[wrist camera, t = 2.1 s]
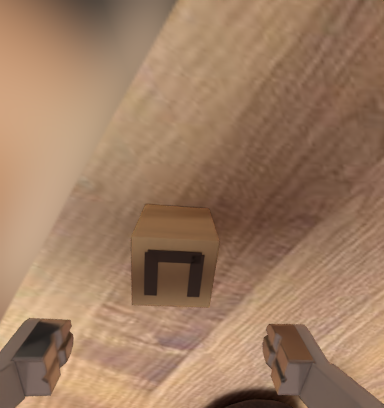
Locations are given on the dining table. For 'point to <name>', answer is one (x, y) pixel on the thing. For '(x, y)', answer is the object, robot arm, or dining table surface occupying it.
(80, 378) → the dining table surface
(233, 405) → the teapot
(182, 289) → the tile
